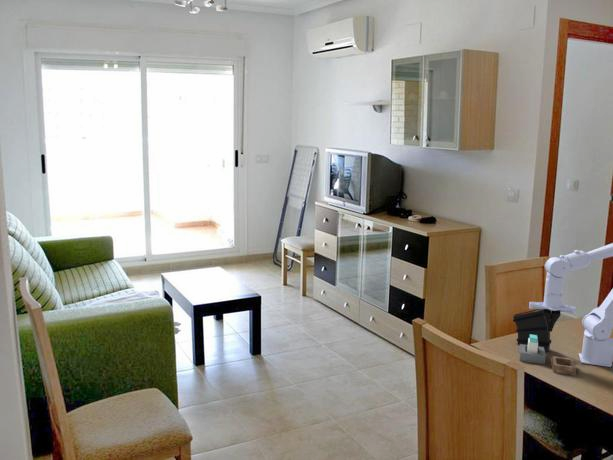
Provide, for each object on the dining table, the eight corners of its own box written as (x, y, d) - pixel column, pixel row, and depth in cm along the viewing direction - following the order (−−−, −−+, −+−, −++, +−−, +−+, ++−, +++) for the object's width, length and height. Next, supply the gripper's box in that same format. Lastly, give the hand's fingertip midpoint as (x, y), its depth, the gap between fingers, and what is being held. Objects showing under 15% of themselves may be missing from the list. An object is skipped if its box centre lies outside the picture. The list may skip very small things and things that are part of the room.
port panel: (543, 355, 203) (543, 347, 202) (544, 364, 195) (545, 355, 195) (519, 351, 205) (519, 344, 205) (519, 360, 198) (520, 352, 197)
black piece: (557, 350, 203) (542, 310, 204) (521, 356, 211) (506, 318, 212) (559, 346, 206) (544, 307, 207) (524, 353, 214) (510, 315, 215)
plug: (535, 356, 202) (537, 335, 200) (536, 360, 198) (538, 339, 196) (526, 355, 203) (528, 333, 201) (527, 359, 199) (529, 337, 197)
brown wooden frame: (572, 365, 194) (573, 358, 194) (574, 375, 187) (575, 368, 187) (551, 362, 196) (551, 356, 196) (553, 372, 189) (553, 365, 189)
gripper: (531, 293, 194) (527, 331, 196) (578, 298, 189) (573, 337, 192) (530, 287, 200) (526, 324, 203) (575, 292, 196) (571, 330, 198)
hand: (549, 330), depth 198 cm, fingers closed
